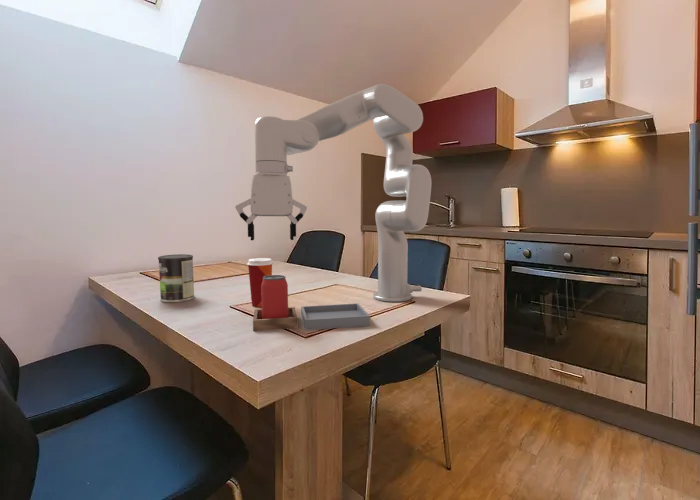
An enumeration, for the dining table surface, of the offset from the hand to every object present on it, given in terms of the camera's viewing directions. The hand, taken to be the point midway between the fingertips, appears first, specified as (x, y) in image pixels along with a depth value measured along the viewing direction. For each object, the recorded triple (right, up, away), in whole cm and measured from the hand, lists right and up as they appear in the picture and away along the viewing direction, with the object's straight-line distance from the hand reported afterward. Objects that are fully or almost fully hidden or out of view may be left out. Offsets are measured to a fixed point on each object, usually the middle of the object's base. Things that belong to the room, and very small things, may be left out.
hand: (272, 239), depth 94 cm
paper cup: (-8, -20, +21) cm, 30 cm away
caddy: (0, -21, +2) cm, 21 cm away
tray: (+15, -21, +5) cm, 26 cm away
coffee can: (-37, -19, +29) cm, 51 cm away
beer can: (0, -22, +2) cm, 22 cm away
